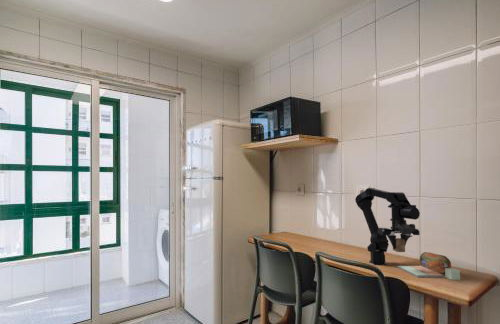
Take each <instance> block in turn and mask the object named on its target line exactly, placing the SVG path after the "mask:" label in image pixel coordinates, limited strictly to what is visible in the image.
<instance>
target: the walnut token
mask: <svg viewBox="0 0 500 324" xmlns="http://www.w3.org/2000/svg"><path fill="white" fill-rule="evenodd" d="M395 243H396V249H394V248H393V247H392V251H394V252H396V253H405V252H406V245H405V240H404V239H401V237H396V238H395Z"/></svg>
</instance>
